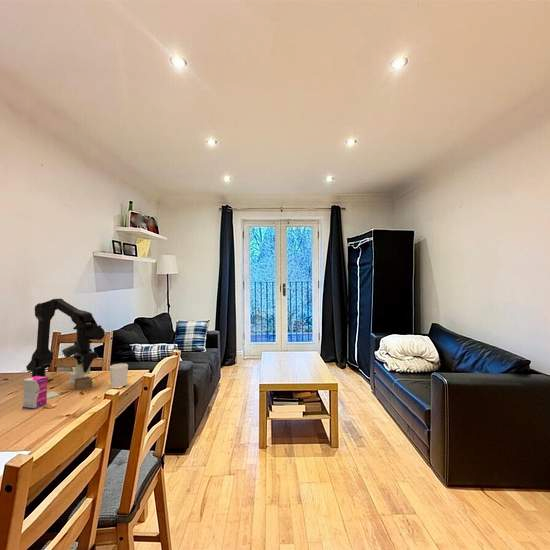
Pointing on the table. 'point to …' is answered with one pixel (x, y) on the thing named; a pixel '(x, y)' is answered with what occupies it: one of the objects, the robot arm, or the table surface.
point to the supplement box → (34, 392)
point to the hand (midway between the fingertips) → (83, 371)
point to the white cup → (118, 375)
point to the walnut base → (83, 382)
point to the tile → (52, 395)
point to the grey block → (74, 377)
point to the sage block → (81, 369)
